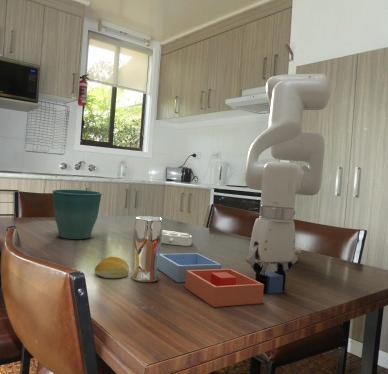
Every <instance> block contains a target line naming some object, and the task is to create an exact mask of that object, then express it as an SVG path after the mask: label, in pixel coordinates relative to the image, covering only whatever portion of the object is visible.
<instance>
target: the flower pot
mask: <svg viewBox="0 0 388 374" xmlns="http://www.w3.org/2000/svg"><path fill="white" fill-rule="evenodd" d="M51 192H52V200H53V201H52V202H53V203H52V204H53V216H54V219H55V223H56V226H57V231H58V236H59V237H60V238H61V239H62V238H63V239H67V240H85V239H90V238H91V237H92V232H93V229H94V227H95V224H96V222H97V220H98V217H99V212H100V205H101V200H102V199H101V198H102V195H103V192H100V191H95V190H87V189H86V190H85V189H53V190H52V191H51Z"/></svg>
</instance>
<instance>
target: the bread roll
mask: <svg viewBox="0 0 388 374" xmlns="http://www.w3.org/2000/svg"><path fill="white" fill-rule="evenodd" d="M129 272H130V265H129V264H128V262H127V261H126V260H125V259H123V258H121V257H117V256H107V257H105V258H103V259H102V260H101V261H99V262H98V264H96V266H95V268H94V273H95V274H96V275H97V276H99V277H102V278H105V279H122V278H125V277H127V276H128V274H129Z"/></svg>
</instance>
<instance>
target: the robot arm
mask: <svg viewBox="0 0 388 374" xmlns="http://www.w3.org/2000/svg"><path fill="white" fill-rule="evenodd" d="M265 94H266V98H267V103H268V105H269V108H270V112H269V118H268V127H267V128H266V129H264V130H263V131H262V132H261V133H260V134H259V135H258V136H257V137H256V138H255V139H254V140H253V142H251V145H250V147H249V148H248V149H249V150H248V152H247V157H246V165H245V171H244V182H245V185H246V187H248V188H249V189H251V190H254V191H260V193H261V194H260V204H259V216H258V218H256V219H255V221H254V224H253V228H252V231H251V238H250V241H249V242H250V243H249V249H248V251H249V252H248V254H247V256H246V257H245V259H244V260H245V262H246V263H247V264H249V266H250V267H251V268H252V269H253V272H254V273H255V279H254V280H256V281H258V282H260V283H262V284H264V291H263V293H266V292H265V291H266V284H267V275H265V273H266V272H267V270H268V266H269V263H271V264H272V263H273V264H275V266H276V267H275V268H276V270H274V271H273V272H274V273H277V274H279V275H282V276H283V287H282V292H283V291H285V288H286V279H287V275H288V274H289V270H290V269H291V268H292V267H293V265H294V264H295V263H296V262H297V261H298V260H299V259H298V256H297V255H300V254H302V251H303V250H302V249H301V247H296V227H295V221H294V217H295V215H296V210H295V203H296V201H295V200H296V195H299V196H316V195H318V193H319V192H320V190H321V187H322V180H323V179H322V178H323V169H324V157H325V138H324V136H323V135H322V134H321V133H320V132H316V131H302V130H303V121H304V120H303V119H304V111H322V110H324V109H325V108H326V107H327V106H328V104H329V100H330V94H331V87H330V82H329V79H328V77H327V75H326V74H325V73H289V74H287V73H286V74H285V73H284V74H278V75H273V76H271V77H269V78H268V79H267V81H266V83H265ZM267 149H270V155H271V157H272V158H273V159H274V160H278V161H265V160H263V161H260V160H259V158H260V156H261V154H262V153H263V152H265V151H266V150H267ZM286 161H287V162H286ZM289 161H290V162H289ZM293 162H304V163H305V164H307V165H300V164H297V163H293Z"/></svg>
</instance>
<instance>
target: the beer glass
mask: <svg viewBox="0 0 388 374" xmlns="http://www.w3.org/2000/svg"><path fill="white" fill-rule="evenodd" d="M162 230H163V218H161V217H157V216H156V217H155V216H144V215H143V216H142V215H140V216H136V217H135V222H134V228H133V248H134V249H133V250H134V259H135V260H134V264H135V265H134V269H133V273H132V279H133V280H134V281H135V282H136V281H137V282H139V283H140V282H141V283H154V282H156V281H158V272H157V270H158V269H157V266H158V256H159V254H160V251H161V248H162V247H161V246H162V243H161V242H162Z"/></svg>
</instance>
